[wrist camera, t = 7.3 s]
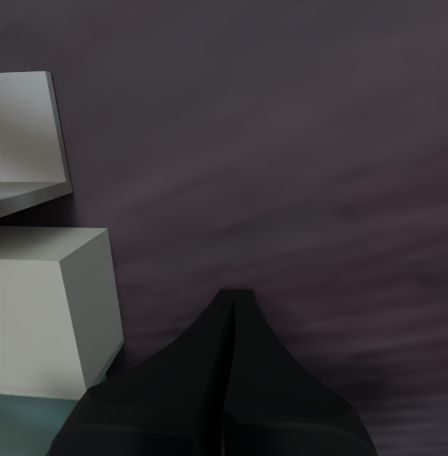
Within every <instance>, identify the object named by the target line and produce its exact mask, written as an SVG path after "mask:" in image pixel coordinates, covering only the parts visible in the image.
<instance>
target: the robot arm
mask: <svg viewBox="0 0 448 456" xmlns="http://www.w3.org/2000/svg"><path fill="white" fill-rule="evenodd" d="M223 431H224V446H225V456H378V455H377V452H376V449H375V447H374V444H373V442H372V440H371V438H370V436H369V434H368V432H367V430H366V428H365V426H364V424H363V422H362V421H361V419H360V417H359V415H358V413H357V412H356V410H355V408H354V407H353V405H351V404H350V403H348V402H347V401H345V400H344V399H343V398H341V397H340V396H338V395H337V394H335V393H334V392H333V391H331V390H330V389H328V388H327V387H325V386H324V385H323V384H322V383H320V382H319V381H318V380H317V379H316V378H314V377H313V376H312V375H311V374H310V373H309V372H308V371H306V370H305V369H304V368H303V367H302V366H301V365H300V364H299V363H298V362H297V361H296V360H295V359H294V358H293V357H292V356H291V354H290V353H289V352H288V351H287V350H286V349H285V347H284V346H283V345H282V344H281V342H280V341H279V340H278V338H277V337H276V336H275V334H274V333H273V331H272V330H271V328H270V327H269V325H268V324H267V322H266V320H265V318H264V317H263V315H262V313H261V311H260V309H259V307H258V304H257V302H256V299H255V296H254V293H253V292H252V291H251V290H220V291H219V292H218V294H217V295H216V296H215V298H214V299H213V300H212V302H211V303H210V304H209V306H208V307H207V308H206V309H205V310H204V311H203V313H202V314H201V315H200V316H199V317H198V318H197V319H196V320H195V321H194V322H193V323H192V324H191V325H190V326H189V328H188V329H187V330H185V331H184V332H183V333H182V334H181V335H180V336H179V337H178V338H176V339H175V340H174V341H173V342H172V343H170V344H169V345H168V346H166V347H165V348H163V349H162V350H160V351H159V352H157V353H156V354H154V355H153V356H152V357H150V358H148V359H147V360H145V361H143V362H142V363H140V364H138V365H136V366H135V367H133V368H131V369H129V370H127V371H125V372H123V373H121V374H119V375H117V376H115V377H113V378H110V379H108V380H106V381H104V382H101V383H99V384H97V385H95V386H92V387H90V388H88V389H87V391H86V392H85V393H84V395H83V396H82V397H81V399H80V400H79V401H78V403H77V404H76V405H75V407H74V408H73V410H72V411H71V413H70V415H69V416H68V418H67V419H66V421H65V422H64V424H63V425H62V427H61V429H60V430H59V432H58V433H57V435H56V436H55V438H54V439H53V441H52V443H51V446H50V450H49V456H222V443H223Z"/></svg>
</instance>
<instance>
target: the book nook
mask: <svg viewBox="0 0 448 456" xmlns="http://www.w3.org/2000/svg"><path fill="white" fill-rule="evenodd" d="M69 193H72V186H71V181H70V175H69V170H68V165H67V159H66V154H65V148H64V143H63V137H62V132H61V126H60V121H59V116H58V110H57V105H56V99H55V94H54V88H53V83H52V77H51V73H49V72H46V71H41V72H15V73H0V217H3V216H6V215H9V214H12V213H14V212H17V211H20V210H23V209H26V208H29V207H32V206H35V205H37V204H40V203H43V202H46V201H49V200H52V199H55V198H58V197H60V196H63V195H66V194H69ZM106 380H107V377H106V373H105V375H104V376H103V378H102V380H101V381H100V383H101V382H104V381H106ZM77 403H78V400H65V399H53V398H41V397H28V396H16V395H4V394H0V456H49V450H50V446H51V443H52V441H53V439H54V438H55V436H56V435H57V433H58V432H59V430H60V429H61V427H62V425H63V424H64V422H65V421H66V419H67V418H68V416H69V415H70V413H71V411H72V410H73V408H74V407H75V405H76V404H77Z"/></svg>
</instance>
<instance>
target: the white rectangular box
mask: <svg viewBox="0 0 448 456" xmlns="http://www.w3.org/2000/svg"><path fill="white" fill-rule="evenodd" d="M123 344H124V338H123V331H122V324H121V318H120V311H119V304H118V297H117V290H116V283H115V276H114V269H113V263H112V256H111V249H110V242H109V235H108V228H67V227H22V226H0V394H4V395H16V396H28V397H41V398H53V399H65V400H78V401H79V400H80V399H81V397H82V396H83V395H84V393H85V392H86V391H87V389H88V388H90V387H92V386H95V385H97V384H99V383H100V381H101V380H102V378H103V376H104V375H105V373H106V371H107V370H108V368H109V367H110V365H111V363H112V362H113V360H114V358H115V357H116V355H117V353H118V352H119V350H120V349H121V347H122V345H123Z"/></svg>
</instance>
